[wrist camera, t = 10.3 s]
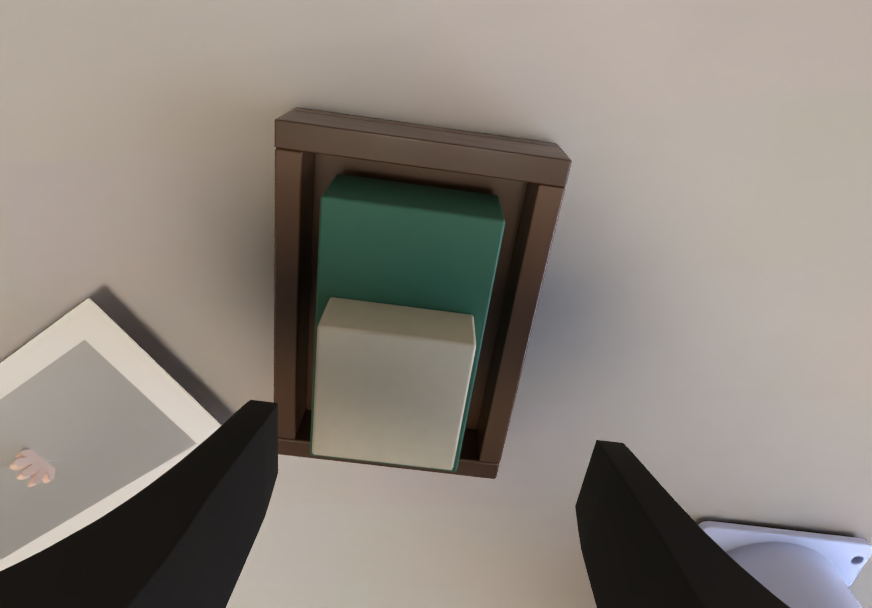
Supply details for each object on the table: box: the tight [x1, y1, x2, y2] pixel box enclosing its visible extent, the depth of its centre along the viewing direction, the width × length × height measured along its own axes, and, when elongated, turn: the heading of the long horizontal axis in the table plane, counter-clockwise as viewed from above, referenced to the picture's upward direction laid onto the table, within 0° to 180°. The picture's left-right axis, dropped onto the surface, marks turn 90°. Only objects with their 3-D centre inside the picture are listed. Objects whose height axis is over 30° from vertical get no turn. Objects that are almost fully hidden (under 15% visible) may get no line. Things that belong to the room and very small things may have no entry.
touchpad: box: [0, 298, 222, 571], centre depth 23 cm, size 8×15×2 cm, turn 124°
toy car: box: [310, 174, 505, 472], centre depth 18 cm, size 9×5×5 cm, turn 172°
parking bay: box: [274, 108, 572, 479], centre depth 20 cm, size 12×8×2 cm
